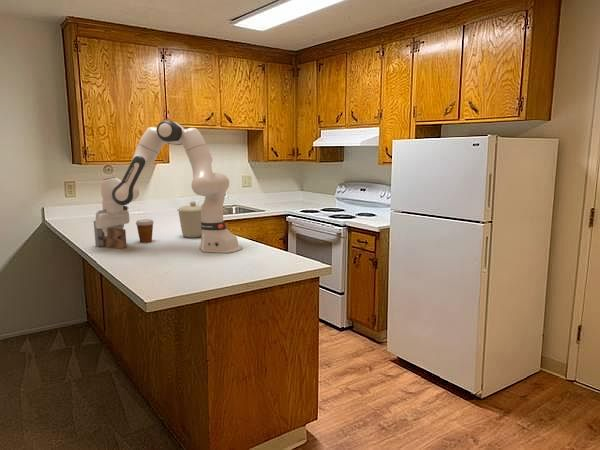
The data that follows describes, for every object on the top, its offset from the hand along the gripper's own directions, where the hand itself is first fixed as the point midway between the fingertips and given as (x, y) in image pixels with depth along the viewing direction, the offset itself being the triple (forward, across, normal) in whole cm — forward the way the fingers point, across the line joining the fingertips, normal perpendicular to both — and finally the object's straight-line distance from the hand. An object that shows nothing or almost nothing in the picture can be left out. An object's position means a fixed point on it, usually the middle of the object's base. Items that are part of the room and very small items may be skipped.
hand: (113, 234), depth 237 cm
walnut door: (+7, 0, 0) cm, 7 cm away
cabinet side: (+7, +6, +8) cm, 12 cm away
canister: (+7, +41, -21) cm, 47 cm away
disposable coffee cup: (+7, +18, -5) cm, 20 cm away
